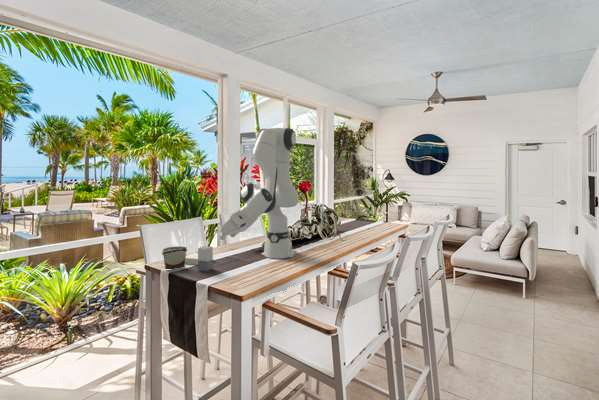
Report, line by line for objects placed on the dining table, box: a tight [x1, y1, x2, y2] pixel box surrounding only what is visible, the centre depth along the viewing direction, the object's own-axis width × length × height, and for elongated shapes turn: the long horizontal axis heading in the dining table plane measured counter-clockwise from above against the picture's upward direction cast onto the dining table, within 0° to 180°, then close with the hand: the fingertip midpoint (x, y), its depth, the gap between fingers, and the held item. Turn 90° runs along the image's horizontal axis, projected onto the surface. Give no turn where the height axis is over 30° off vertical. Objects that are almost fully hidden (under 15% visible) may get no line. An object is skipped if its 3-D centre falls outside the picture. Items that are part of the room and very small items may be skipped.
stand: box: [185, 252, 198, 266], centre depth 184 cm, size 11×11×3 cm
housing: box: [197, 245, 214, 272], centre depth 169 cm, size 5×5×11 cm
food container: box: [161, 246, 188, 270], centre depth 172 cm, size 12×6×10 cm, turn 135°
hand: (226, 237), depth 164 cm, fingers open, 8 cm apart
